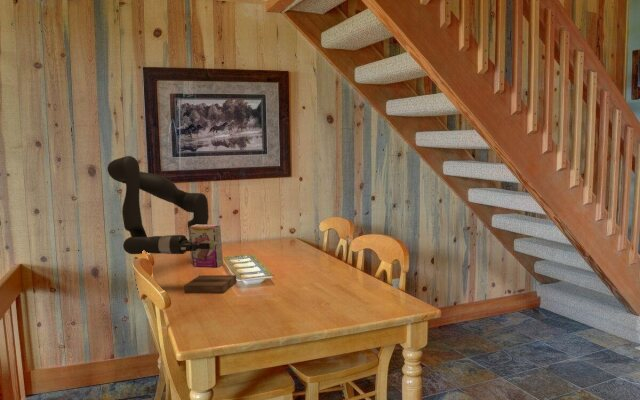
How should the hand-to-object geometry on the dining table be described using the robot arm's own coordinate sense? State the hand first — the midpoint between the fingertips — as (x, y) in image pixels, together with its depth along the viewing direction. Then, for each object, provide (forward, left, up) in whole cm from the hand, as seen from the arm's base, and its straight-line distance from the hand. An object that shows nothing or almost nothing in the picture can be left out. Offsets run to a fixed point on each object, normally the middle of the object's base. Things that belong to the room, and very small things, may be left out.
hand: (212, 244), depth 208 cm
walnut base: (0, -2, -18) cm, 18 cm away
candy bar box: (0, -3, -9) cm, 9 cm away
